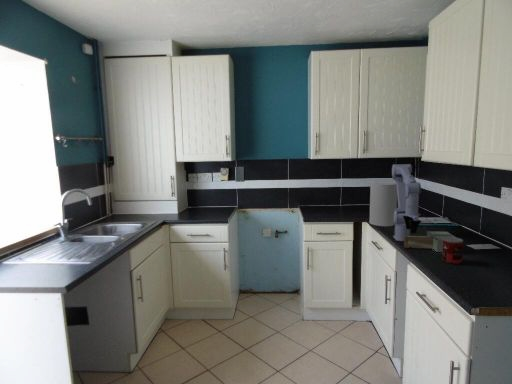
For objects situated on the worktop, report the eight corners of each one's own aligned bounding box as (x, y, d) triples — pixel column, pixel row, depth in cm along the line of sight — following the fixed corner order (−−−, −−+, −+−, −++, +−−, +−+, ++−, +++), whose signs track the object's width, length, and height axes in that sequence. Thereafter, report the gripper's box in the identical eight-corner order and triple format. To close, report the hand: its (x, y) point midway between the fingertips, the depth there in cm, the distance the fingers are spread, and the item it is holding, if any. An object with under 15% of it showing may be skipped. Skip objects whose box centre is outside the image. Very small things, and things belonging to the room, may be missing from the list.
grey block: (425, 244, 179) (425, 231, 178) (446, 244, 178) (447, 231, 176) (435, 253, 165) (436, 238, 164) (458, 253, 164) (459, 239, 163)
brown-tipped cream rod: (404, 246, 175) (404, 235, 174) (431, 247, 173) (432, 236, 172) (405, 247, 173) (405, 236, 172) (433, 248, 171) (434, 237, 170)
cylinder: (398, 226, 217) (400, 184, 213) (371, 225, 221) (372, 184, 217) (393, 220, 234) (394, 181, 230) (367, 219, 238) (368, 181, 234)
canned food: (443, 257, 159) (444, 235, 157) (462, 261, 154) (464, 238, 152) (440, 262, 153) (441, 239, 151) (460, 266, 148) (461, 242, 146)
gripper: (425, 208, 163) (424, 235, 165) (415, 203, 177) (414, 227, 179) (410, 208, 164) (409, 234, 166) (401, 203, 178) (400, 227, 180)
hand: (410, 231), depth 172 cm, fingers open, 7 cm apart
